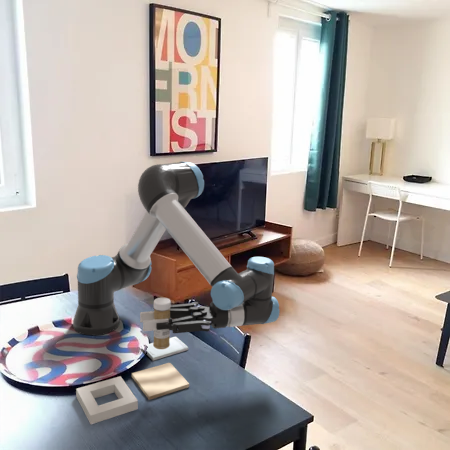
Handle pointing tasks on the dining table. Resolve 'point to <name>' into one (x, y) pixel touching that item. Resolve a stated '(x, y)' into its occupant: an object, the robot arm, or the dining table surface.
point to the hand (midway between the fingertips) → (141, 321)
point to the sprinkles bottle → (161, 312)
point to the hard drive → (174, 348)
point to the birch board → (159, 380)
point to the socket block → (109, 409)
